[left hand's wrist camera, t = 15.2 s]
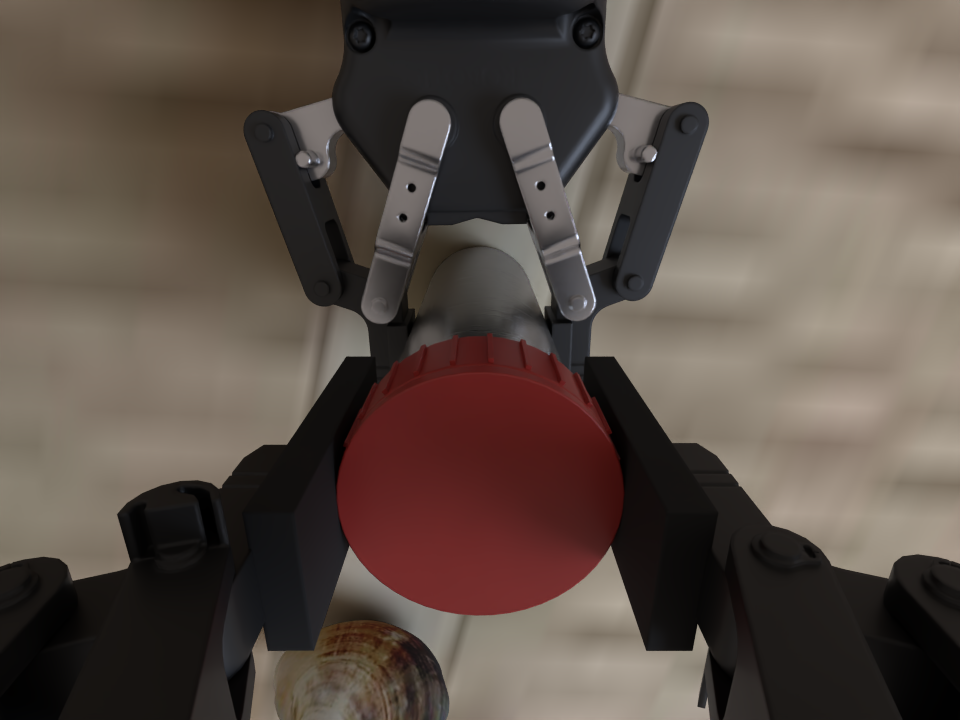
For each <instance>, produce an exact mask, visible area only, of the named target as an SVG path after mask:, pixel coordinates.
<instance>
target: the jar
mask: <svg viewBox="0 0 960 720" xmlns="http://www.w3.org/2000/svg"><path fill="white" fill-rule="evenodd" d="M487 333H492V336H493V337H500V338H506V339H510V340H514V341H519V342H520V340H521V339H523V340H526V344H527V345H530V346H533V347H535V348H537V349H539V350H541V351H543V352H545V353H547V354H549V355H550V354H551V352H552V353H554V354H555V355H556V357H557V360H558V361H559V362H560V363H562V362H561V359H560V357H559V354H558V352H557V349H556V347H555V344H554V342H553V339H552V337H551V334H550V332H549V329H548V327H547V324H546V322H545V319H544V317H543V314H542V312H541V309H540V307H539V304H538V302H537V299H536V297H535V294H534V292H533V289H532V287H531V284H530V282H529V279H528V277H527V275H526V273H525V271H524V270H523V268H522V267H521V266H520V264H519V263H518V262H517V261H516V260H515V259H514V258H512V257H511V256H510V255H508V254H506V253H504V252H503V251H500V250H498V249H494V248H490V247H482V246H481V247H470V248H466V249H462V250H460V251H458V252H455V253H454V254H452V255H451V256H449V257H448V258H447V259H445V260H444V261H443V262H442V263H441V264H440V265H439V267H438V268H437V270H436V271H435V273H434V275H433V277H432V279H431V282H430V284H429V287H428V289H427V292H426V294H425V297H424V299H423V302H422V304H421V307H420V309H419V312H418V314H417V317H416V319H415V322H414V324H413V327H412V330H411V332H410V335H409V337H408V340H407V342H406V345H405V347H404V350H403V352H402V355H401V357H400V360H399V363H400V362H401V361H403V360H404V359H405V358H407V357H409V356H410V355H412V354H414V353H415V352H417V351H419V350H420V347H421V346H422V345H424V344H426V346H427V347H428V346H430V345H433V344H435V343H439V342H442V341H446V340H449V339H453V335H458V337H459V338H461V337H469V336H487Z"/></svg>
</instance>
